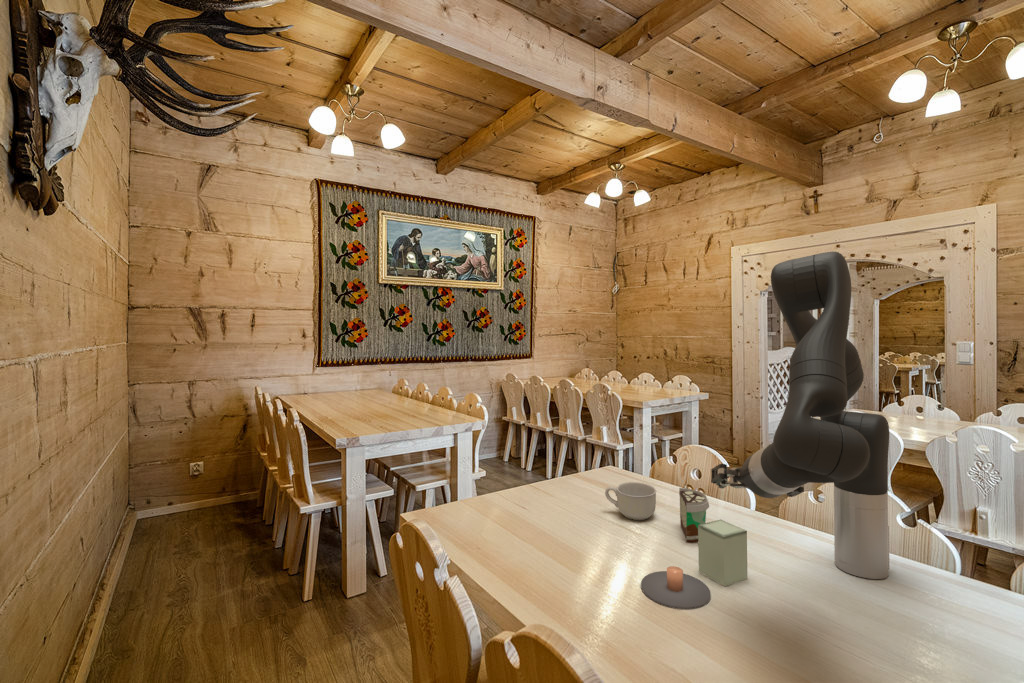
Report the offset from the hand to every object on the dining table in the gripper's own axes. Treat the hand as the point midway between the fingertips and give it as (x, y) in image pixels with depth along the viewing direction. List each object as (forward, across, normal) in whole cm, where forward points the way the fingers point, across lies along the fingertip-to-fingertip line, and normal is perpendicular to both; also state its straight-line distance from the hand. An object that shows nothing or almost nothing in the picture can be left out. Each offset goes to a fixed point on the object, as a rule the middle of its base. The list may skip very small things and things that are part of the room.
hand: (743, 487), depth 91 cm
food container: (+33, +2, +7) cm, 34 cm away
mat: (+9, +10, +20) cm, 25 cm away
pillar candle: (+9, +10, +20) cm, 25 cm away
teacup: (+44, +17, +4) cm, 47 cm away
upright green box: (+15, 0, +16) cm, 22 cm away
